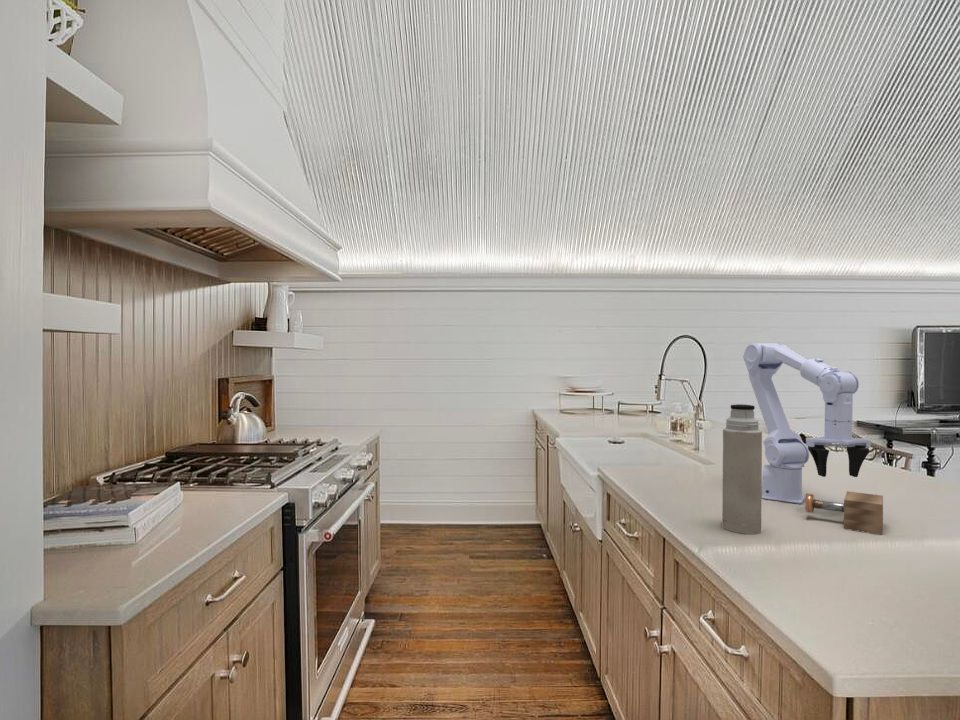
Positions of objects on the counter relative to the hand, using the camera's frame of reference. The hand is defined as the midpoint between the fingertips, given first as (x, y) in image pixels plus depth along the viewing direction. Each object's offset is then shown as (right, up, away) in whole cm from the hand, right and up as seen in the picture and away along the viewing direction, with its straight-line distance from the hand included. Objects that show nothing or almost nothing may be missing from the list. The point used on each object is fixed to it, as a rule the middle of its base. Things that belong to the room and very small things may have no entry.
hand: (837, 476), depth 137 cm
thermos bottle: (-29, -10, -11) cm, 32 cm away
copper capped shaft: (-4, -8, -6) cm, 11 cm away
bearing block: (0, -10, -9) cm, 13 cm away
